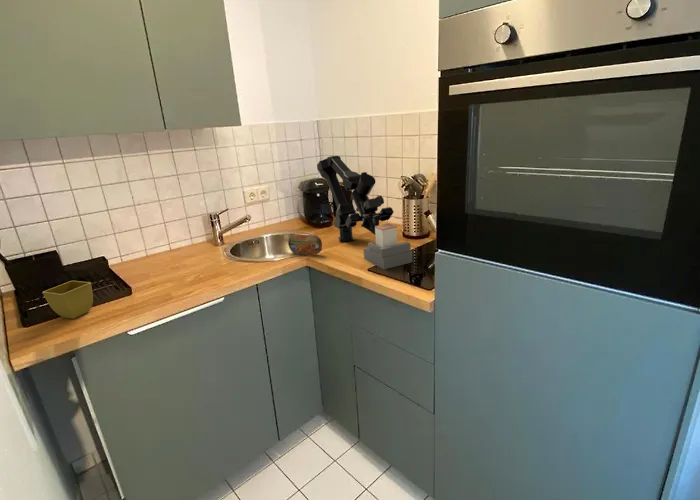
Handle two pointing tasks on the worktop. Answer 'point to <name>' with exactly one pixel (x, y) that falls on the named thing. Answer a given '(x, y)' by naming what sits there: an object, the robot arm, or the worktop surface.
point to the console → (389, 255)
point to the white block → (385, 235)
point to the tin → (305, 244)
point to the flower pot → (70, 298)
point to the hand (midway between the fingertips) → (378, 235)
